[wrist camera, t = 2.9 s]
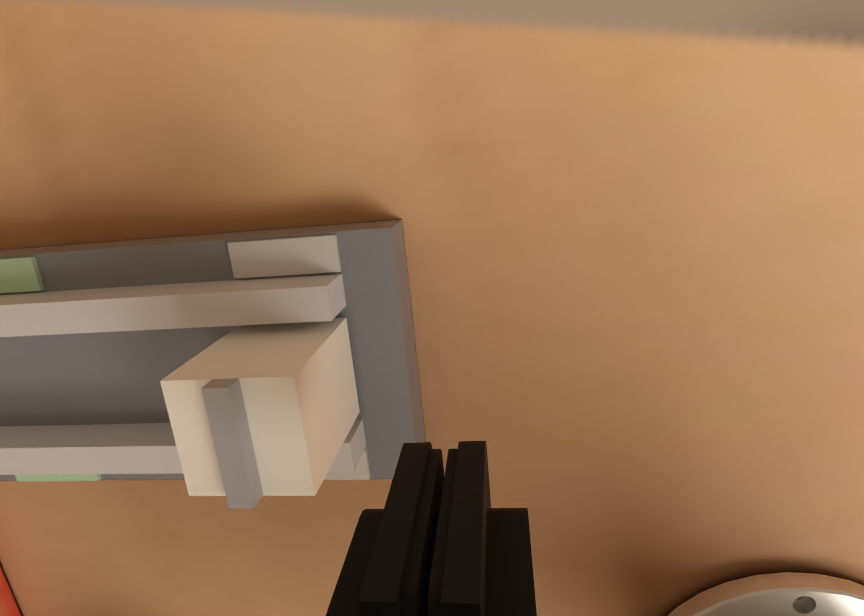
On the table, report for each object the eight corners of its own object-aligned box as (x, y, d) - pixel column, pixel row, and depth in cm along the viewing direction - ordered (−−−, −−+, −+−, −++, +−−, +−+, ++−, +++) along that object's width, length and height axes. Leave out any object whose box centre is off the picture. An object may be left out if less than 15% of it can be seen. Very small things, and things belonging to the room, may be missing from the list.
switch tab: (359, 411, 21) (307, 508, 15) (261, 414, 22) (177, 508, 16) (346, 317, 20) (285, 385, 14) (242, 322, 20) (146, 389, 15)
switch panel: (426, 451, 24) (412, 507, 20) (-51, 457, 27) (-136, 505, 24) (401, 219, 21) (380, 236, 17) (-128, 259, 24) (-238, 280, 21)
